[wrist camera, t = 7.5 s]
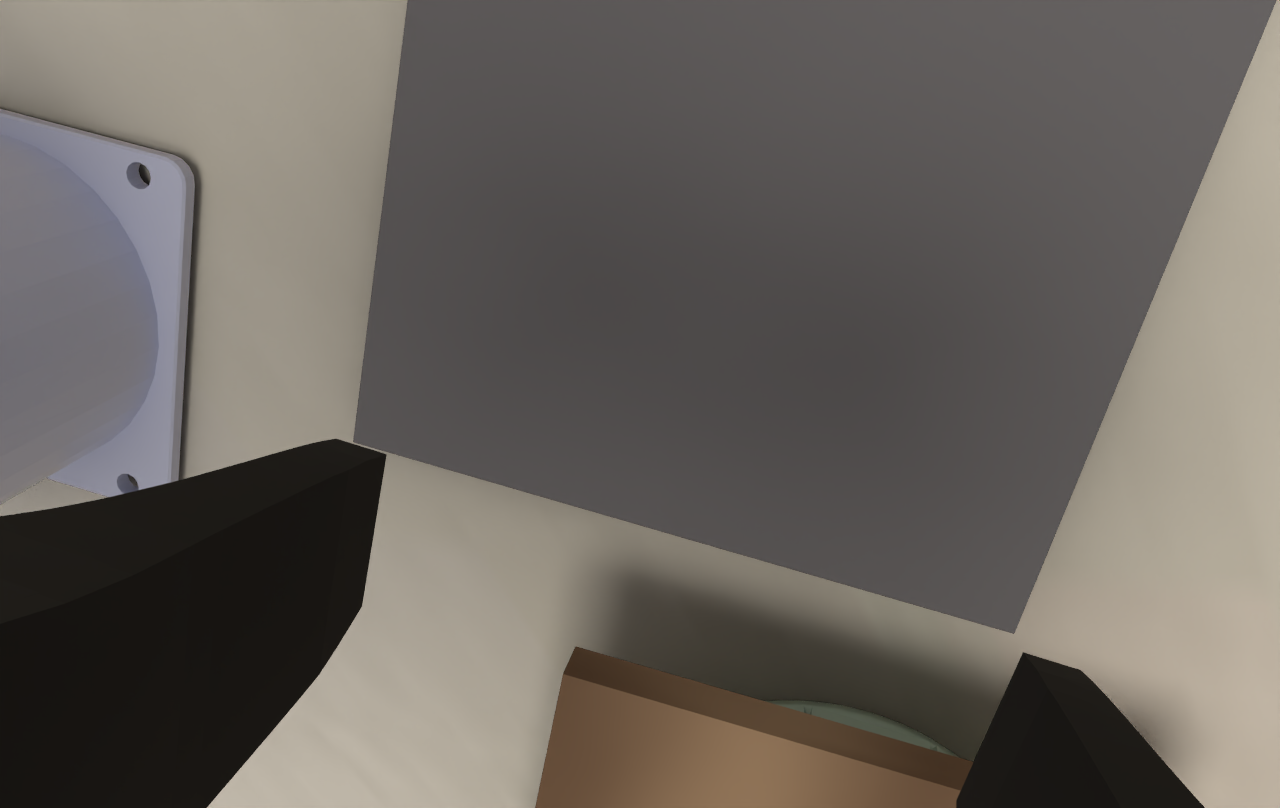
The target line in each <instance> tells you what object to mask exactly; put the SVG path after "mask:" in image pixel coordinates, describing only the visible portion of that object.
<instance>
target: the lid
mask: <svg viewBox="0 0 1280 808" xmlns="http://www.w3.org/2000/svg"><path fill="white" fill-rule="evenodd" d="M972 765H973V762H972V761H969V760H965V759H962V758H958V757H955V756H952V755H948V754H945V753H941V752H938V751H934V750H931V749H927V748H924V747H921V746H917V745H914V744H910V743H907V742H903V741H900V740H896V739H893V738H890V737H886V736H883V735H879V734H876V733H872V732H869V731H865V730H862V729H858V728H855V727H852V726H848V725H845V724H841V723H838V722H834V721H831V720H827V719H824V718H821V717H817V716H814V715H810V714H807V713H803V712H800V711H796V710H793V709H790V708H786V707H783V706H779V705H776V704H772V703H769V702H765V701H762V700H759V699H755V698H752V697H748V696H745V695H741V694H738V693H734V692H731V691H728V690H724V689H721V688H717V687H714V686H710V685H707V684H703V683H700V682H697V681H693V680H690V679H686V678H683V677H679V676H676V675H672V674H669V673H666V672H662V671H659V670H655V669H652V668H648V667H645V666H641V665H638V664H635V663H631V662H628V661H624V660H621V659H617V658H614V657H610V656H607V655H604V654H600V653H597V652H593V651H590V650H586V649H583V648H579V647H575V649H574V651H573V653H572V656H571V658H570V660H569V662H568V664H567V667H566V669H565V671H564V673H563V677H562V682H561V687H560V691H559V696H558V701H557V706H556V711H555V715H554V720H553V725H552V730H551V735H550V740H549V744H548V749H547V754H546V759H545V764H544V768H543V773H542V778H541V783H540V788H539V792H538V797H537V802H536V807H535V808H956V800H957V798H958V796H959V793H960V791H961V789H962V787H963V784H964V782H965V780H966V778H967V776H968V773H969V771H970V769H971V767H972Z"/></svg>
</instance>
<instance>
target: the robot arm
mask: <svg viewBox="0 0 1280 808" xmlns="http://www.w3.org/2000/svg"><path fill="white" fill-rule="evenodd" d="M140 163H141V164H143V165H145V166H146V168H147V169H148V170H149V172H150V177H151V181H150V184H149V185H148V184H146V183H144V181H143V180H142V179H141V177H140V174H139V166H140ZM194 193H195V182H194V175H193V173H192V171H191V169H190V167H189V166H188V165H187V164H186V162H185V161H184V160H183V159H181V158H179V157H177V156H175V155H173V154H169V153H165V152H162V151H158V150H154V149H150V148H146V147H143V146H139V145H135V144H131V143H128V142H124V141H120V140H116V139H113V138H109V137H105V136H101V135H98V134H94V133H90V132H86V131H82V130H79V129H75V128H71V127H67V126H64V125H60V124H56V123H52V122H49V121H45V120H41V119H37V118H34V117H30V116H26V115H22V114H18V113H15V112H11V111H7V110H3V109H0V505H1V504H2V503H4V502H6V501H7V500H9V499H11V498H13V497H14V496H16V495H18V494H19V493H21V492H23V491H25V490H26V489H28V488H30V487H31V486H33V485H35V484H37V483H38V482H40V481H42V480H44V479H45V478H47V479H50V480H54V481H57V482H60V483H64V484H67V485H70V486H73V487H77V488H80V489H83V490H87V491H90V492H93V493H97V494H100V495H103V496H106V497H108V498H104V499H100V500H95V501H90V502H85V503H80V504H75V505H69V506H64V507H58V508H53V509H47V510H40V511H34V512H27V513H21V514H14V515H7V516H1V517H0V808H207V807H208V805H209V804H210V803H211V802H212V801H213V800H214V798H215V797H216V796H217V795H218V794H219V793H220V791H221V790H222V789H223V788H224V787H225V786H226V784H227V783H228V782H229V781H230V780H231V779H232V777H233V776H234V775H235V774H236V773H237V771H238V770H239V769H240V768H241V767H242V766H243V764H244V763H245V762H246V761H247V760H248V759H249V757H250V756H251V755H252V754H253V753H254V752H255V750H256V749H257V748H258V747H259V746H260V745H261V743H262V742H263V741H264V740H265V739H266V738H267V736H268V735H269V734H270V733H271V732H272V730H273V729H274V728H275V727H276V726H277V725H278V723H279V722H280V721H281V720H282V719H283V717H284V716H285V715H286V714H287V713H288V711H289V710H290V709H291V708H292V707H293V706H294V704H295V703H296V702H297V701H298V700H299V698H300V697H301V696H302V695H303V694H304V692H305V691H306V690H307V689H308V688H309V686H310V685H311V684H312V683H313V681H314V680H315V679H316V678H317V677H318V675H319V674H320V672H321V671H322V669H323V668H324V666H325V665H326V663H327V662H328V660H329V658H330V657H331V655H332V654H333V652H334V651H335V649H336V648H337V646H338V645H339V643H340V641H341V640H342V638H343V636H344V635H345V633H346V632H347V630H348V628H349V627H350V625H351V623H352V622H353V620H354V618H355V617H356V615H357V614H358V612H359V610H360V609H361V607H362V602H363V596H364V590H365V584H366V578H367V572H368V565H369V559H370V553H371V547H372V541H373V535H374V528H375V522H376V516H377V510H378V504H379V498H380V491H381V485H382V479H383V473H384V467H385V460H386V454H383V453H380V452H377V451H374V450H371V449H367V448H364V447H361V446H358V445H354V444H351V443H348V442H345V441H342V440H338V439H332V440H326V441H321V442H316V443H312V444H308V445H304V446H300V447H296V448H293V449H289V450H286V451H282V452H278V453H275V454H271V455H268V456H265V457H261V458H258V459H254V460H251V461H247V462H244V463H240V464H237V465H233V466H229V467H226V468H222V469H219V470H215V471H212V472H208V473H205V474H201V475H198V476H194V477H190V478H187V479H183V480H179V481H178V479H179V461H180V443H181V425H182V407H183V390H184V372H185V354H186V336H187V318H188V300H189V282H190V264H191V246H192V228H193V211H194ZM128 474H129V475H131V476H132V477H134V478H135V480H136V481H137V483H138V487H136V486H134V485H133V484H132V483H131V482H130V480H129V477H128ZM956 808H1205V807H1204V806H1203V805H1202V804H1201V803H1200V802H1199V801H1198V800H1197V799H1196V798H1195V796H1194V795H1193V794H1192V793H1191V792H1190V791H1189V790H1188V789H1187V787H1186V786H1185V785H1184V784H1183V783H1182V782H1181V781H1180V780H1179V778H1178V777H1177V776H1176V775H1175V774H1174V773H1173V772H1172V770H1171V769H1170V768H1169V767H1168V766H1167V765H1166V764H1165V762H1164V761H1163V760H1162V759H1161V758H1160V757H1159V756H1158V754H1157V753H1156V752H1155V751H1154V750H1153V749H1152V747H1151V746H1150V745H1149V744H1148V743H1147V742H1146V741H1145V739H1144V738H1143V737H1142V736H1141V735H1140V734H1139V732H1138V731H1137V730H1136V729H1135V728H1134V727H1133V726H1132V724H1131V723H1130V722H1129V721H1128V720H1127V719H1126V718H1125V716H1124V715H1123V714H1122V713H1121V712H1120V711H1119V710H1118V708H1117V707H1116V706H1115V705H1114V704H1113V703H1112V702H1111V701H1110V699H1109V698H1108V697H1107V696H1106V695H1105V694H1104V693H1103V692H1102V691H1101V690H1100V689H1099V688H1098V687H1097V686H1096V685H1095V683H1094V682H1093V681H1092V680H1090V679H1089V678H1088V677H1087V676H1086V675H1085V674H1084V673H1083V672H1082V671H1081V670H1078V669H1075V668H1072V667H1068V666H1065V665H1062V664H1059V663H1056V662H1052V661H1049V660H1046V659H1043V658H1039V657H1036V656H1033V655H1030V654H1027V653H1023V654H1022V656H1021V658H1020V661H1019V663H1018V665H1017V667H1016V669H1015V672H1014V674H1013V676H1012V678H1011V680H1010V683H1009V685H1008V687H1007V689H1006V692H1005V694H1004V696H1003V698H1002V700H1001V703H1000V705H999V707H998V709H997V711H996V714H995V716H994V718H993V720H992V722H991V725H990V727H989V729H988V731H987V734H986V736H985V738H984V740H983V742H982V745H981V747H980V749H979V751H978V753H977V756H976V758H975V760H974V762H973V765H972V767H971V769H970V771H969V773H968V776H967V778H966V780H965V782H964V784H963V787H962V789H961V791H960V793H959V796H958V798H957V800H956Z"/></svg>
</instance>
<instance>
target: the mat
mask: <svg viewBox="0 0 1280 808" xmlns="http://www.w3.org/2000/svg"><path fill="white" fill-rule="evenodd" d="M1275 3H1276V0H408V3H407V11H406V20H405V28H404V36H403V44H402V52H401V60H400V68H399V76H398V84H397V92H396V100H395V109H394V117H393V125H392V133H391V141H390V149H389V157H388V165H387V173H386V181H385V189H384V197H383V206H382V214H381V222H380V230H379V238H378V246H377V254H376V262H375V270H374V278H373V286H372V295H371V303H370V311H369V319H368V327H367V335H366V343H365V351H364V359H363V367H362V375H361V383H360V392H359V400H358V408H357V416H356V424H355V432H354V440H353V442H355V443H358V444H362V445H365V446H368V447H372V448H375V449H379V450H382V451H386V452H389V453H393V454H396V455H399V456H403V457H406V458H410V459H413V460H417V461H420V462H424V463H427V464H430V465H434V466H437V467H441V468H444V469H448V470H451V471H455V472H458V473H462V474H465V475H468V476H472V477H475V478H479V479H482V480H486V481H489V482H493V483H496V484H499V485H503V486H506V487H510V488H513V489H517V490H520V491H524V492H527V493H530V494H534V495H537V496H541V497H544V498H548V499H551V500H555V501H558V502H562V503H565V504H568V505H572V506H575V507H579V508H582V509H586V510H589V511H593V512H596V513H599V514H603V515H606V516H610V517H613V518H617V519H620V520H624V521H627V522H630V523H634V524H637V525H641V526H644V527H648V528H651V529H655V530H658V531H662V532H665V533H668V534H672V535H675V536H679V537H682V538H686V539H689V540H693V541H696V542H699V543H703V544H706V545H710V546H713V547H717V548H720V549H724V550H727V551H730V552H734V553H737V554H741V555H744V556H748V557H751V558H755V559H758V560H762V561H765V562H768V563H772V564H775V565H779V566H782V567H786V568H789V569H793V570H796V571H799V572H803V573H806V574H810V575H813V576H817V577H820V578H824V579H827V580H830V581H834V582H837V583H841V584H844V585H848V586H851V587H855V588H858V589H862V590H865V591H868V592H872V593H875V594H879V595H882V596H886V597H889V598H893V599H896V600H899V601H903V602H906V603H910V604H913V605H917V606H920V607H924V608H927V609H930V610H934V611H937V612H941V613H944V614H948V615H951V616H955V617H958V618H962V619H965V620H968V621H972V622H975V623H979V624H982V625H986V626H989V627H993V628H996V629H999V630H1003V631H1006V632H1010V633H1013V634H1014V633H1015V630H1016V628H1017V626H1018V623H1019V621H1020V618H1021V616H1022V613H1023V611H1024V609H1025V606H1026V604H1027V601H1028V599H1029V597H1030V594H1031V592H1032V589H1033V587H1034V584H1035V582H1036V580H1037V577H1038V575H1039V572H1040V570H1041V568H1042V565H1043V563H1044V560H1045V558H1046V556H1047V553H1048V551H1049V548H1050V546H1051V543H1052V541H1053V539H1054V536H1055V534H1056V531H1057V529H1058V527H1059V524H1060V522H1061V519H1062V517H1063V514H1064V512H1065V510H1066V507H1067V505H1068V502H1069V500H1070V498H1071V495H1072V493H1073V490H1074V488H1075V485H1076V483H1077V481H1078V478H1079V476H1080V473H1081V471H1082V469H1083V466H1084V464H1085V461H1086V459H1087V457H1088V454H1089V452H1090V449H1091V447H1092V444H1093V442H1094V440H1095V437H1096V435H1097V432H1098V430H1099V428H1100V425H1101V423H1102V420H1103V418H1104V415H1105V413H1106V411H1107V408H1108V406H1109V403H1110V401H1111V399H1112V396H1113V394H1114V391H1115V389H1116V387H1117V384H1118V382H1119V379H1120V377H1121V374H1122V372H1123V370H1124V367H1125V365H1126V362H1127V360H1128V358H1129V355H1130V353H1131V350H1132V348H1133V345H1134V343H1135V341H1136V338H1137V336H1138V333H1139V331H1140V329H1141V326H1142V324H1143V321H1144V319H1145V316H1146V314H1147V312H1148V309H1149V307H1150V304H1151V302H1152V300H1153V297H1154V295H1155V292H1156V290H1157V288H1158V285H1159V283H1160V280H1161V278H1162V275H1163V273H1164V271H1165V268H1166V266H1167V263H1168V261H1169V259H1170V256H1171V254H1172V251H1173V249H1174V246H1175V244H1176V242H1177V239H1178V237H1179V234H1180V232H1181V230H1182V227H1183V225H1184V222H1185V220H1186V218H1187V215H1188V213H1189V210H1190V208H1191V205H1192V203H1193V201H1194V198H1195V196H1196V193H1197V191H1198V189H1199V186H1200V184H1201V181H1202V179H1203V176H1204V174H1205V172H1206V169H1207V167H1208V164H1209V162H1210V160H1211V157H1212V155H1213V152H1214V150H1215V147H1216V145H1217V143H1218V140H1219V138H1220V135H1221V133H1222V131H1223V128H1224V126H1225V123H1226V121H1227V119H1228V116H1229V114H1230V111H1231V109H1232V106H1233V104H1234V102H1235V99H1236V97H1237V94H1238V92H1239V90H1240V87H1241V85H1242V82H1243V80H1244V77H1245V75H1246V73H1247V70H1248V68H1249V65H1250V63H1251V61H1252V58H1253V56H1254V53H1255V51H1256V48H1257V46H1258V44H1259V41H1260V39H1261V36H1262V34H1263V32H1264V29H1265V27H1266V24H1267V22H1268V20H1269V17H1270V15H1271V12H1272V10H1273V7H1274V5H1275Z"/></svg>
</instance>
